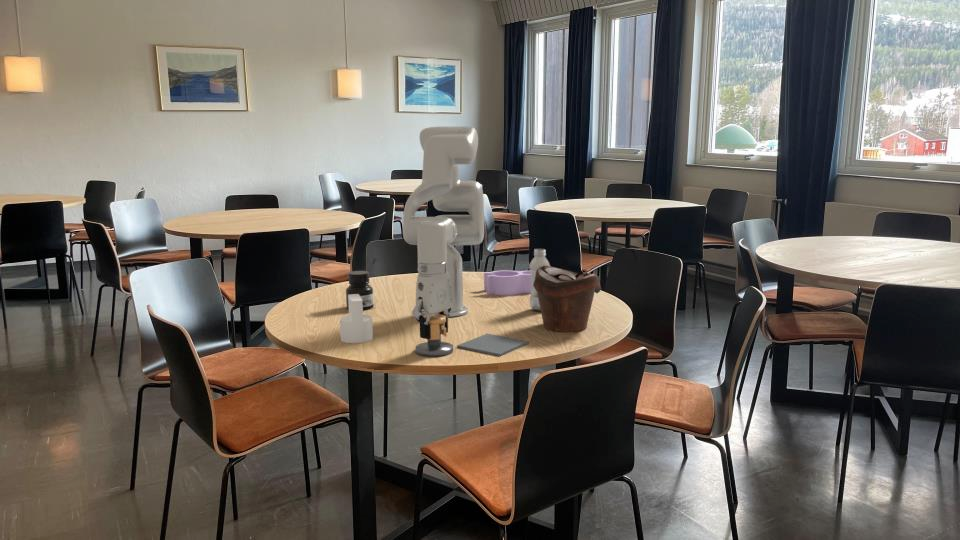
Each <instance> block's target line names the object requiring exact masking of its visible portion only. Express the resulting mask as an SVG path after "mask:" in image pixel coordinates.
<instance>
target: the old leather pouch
mask: <svg viewBox="0 0 960 540" xmlns="http://www.w3.org/2000/svg"><path fill="white" fill-rule="evenodd" d="M533 286H534V288H535V290H536V291H537V295H538V299H539V304H540V309H541V311H540V313H541V318H542V323H543V326H544V328H545V329H546V330H549V331H550V330H551V331H553V332H561V333H562V332H563V333H565V332H566V333H569V332H570V333H571V332H573V333H574V332H580V331H583V330H585V329H587V327H588V322H589V318H590V313H591V310H592V304H593V301H594V295H595V294H598V293H600V292H601V290H602V288H601V284H600V279H599V277H598V276H597V274H595V273H591V274H589V272H588V271H586V270H581V271H579V272H574V271H570V270H566V269H563V268H558V267H554V266H551V265H550V266H546V265H543V266H540V267H539V268H538V269H537V271H536V276H535V280H534V283H533Z"/></svg>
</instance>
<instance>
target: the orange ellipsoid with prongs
mask: <svg viewBox="0 0 960 540" xmlns="http://www.w3.org/2000/svg"><path fill="white" fill-rule="evenodd" d="M423 317H424V318H425V317H426V315H425V314H424V316H423ZM445 322H446V316H444V315H440V314H431V315H430V319H429V323H428V324H430V330H431V338H430V339H431V340H436V339H440V329H439V324H441V325H444V329H442V330H441V336H442V335H443V338H444V337H447V335H448V334H447V333H446V328H445ZM423 339H425V338H423ZM430 339H429V340H430ZM425 340H426V339H425Z"/></svg>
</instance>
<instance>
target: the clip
mask: <svg viewBox="0 0 960 540" xmlns="http://www.w3.org/2000/svg"><path fill="white" fill-rule="evenodd" d="M483 280H484V281H483V286H484V287H483V290H484V291H485V292H486V295H489V296H490V295H496V296H516V295H519V294H520V295H521V294H531V286H532V285H531V283H532V282H531V274H530V270H493V271H490V272H487V271H485V272H484V273H483Z"/></svg>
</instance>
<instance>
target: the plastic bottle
mask: <svg viewBox="0 0 960 540" xmlns="http://www.w3.org/2000/svg"><path fill="white" fill-rule="evenodd" d="M546 251H547V250H546V249H545V248H534V250H533V256H534V257H533V258H532V259H531V261H530V263H529V271H530V274H531V282H532V283H531V285H532V286H531V293H530V297H529V305H530V306H529V307H530V308H531V310H534V311H539V312H541V309H540V304H539V299H538V295H537V291H536V290H535V288H534V286H533V283H534V280H535V276H536V271H537V269H538V268H539V267H540V266H543V265H546V266H551V264H550V262H549V260H548V259H547V257H546V256H547V253H546Z"/></svg>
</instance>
